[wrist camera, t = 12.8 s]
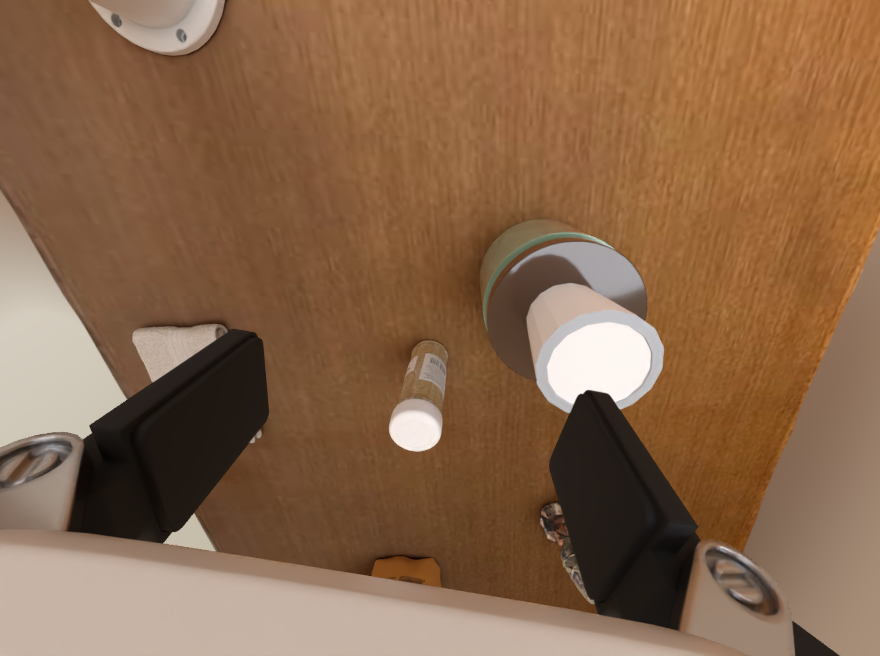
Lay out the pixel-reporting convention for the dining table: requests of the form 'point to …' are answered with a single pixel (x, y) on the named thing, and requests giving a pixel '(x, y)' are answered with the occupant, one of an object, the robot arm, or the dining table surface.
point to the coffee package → (408, 570)
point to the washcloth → (174, 347)
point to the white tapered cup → (590, 347)
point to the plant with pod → (562, 543)
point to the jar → (547, 281)
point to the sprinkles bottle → (421, 399)
